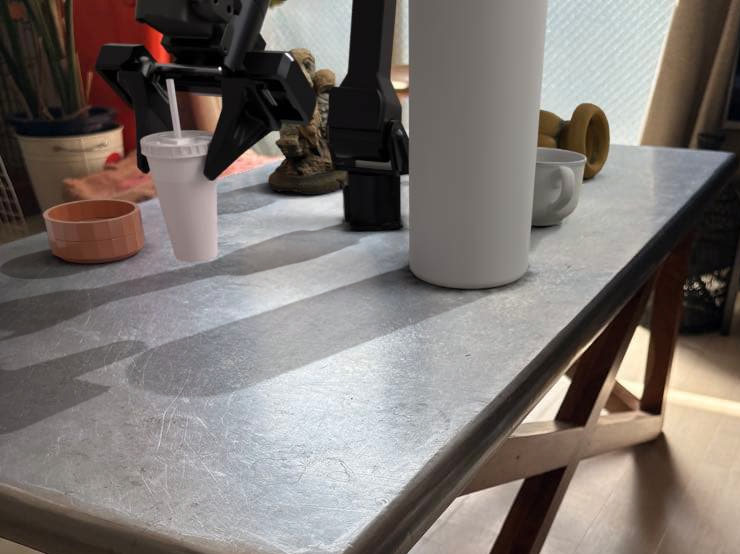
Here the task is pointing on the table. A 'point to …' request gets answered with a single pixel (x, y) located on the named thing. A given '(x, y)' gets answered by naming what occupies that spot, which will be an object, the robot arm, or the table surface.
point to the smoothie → (184, 187)
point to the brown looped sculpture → (578, 135)
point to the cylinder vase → (473, 138)
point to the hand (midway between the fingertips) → (174, 174)
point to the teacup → (556, 185)
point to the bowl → (95, 230)
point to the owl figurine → (308, 140)
